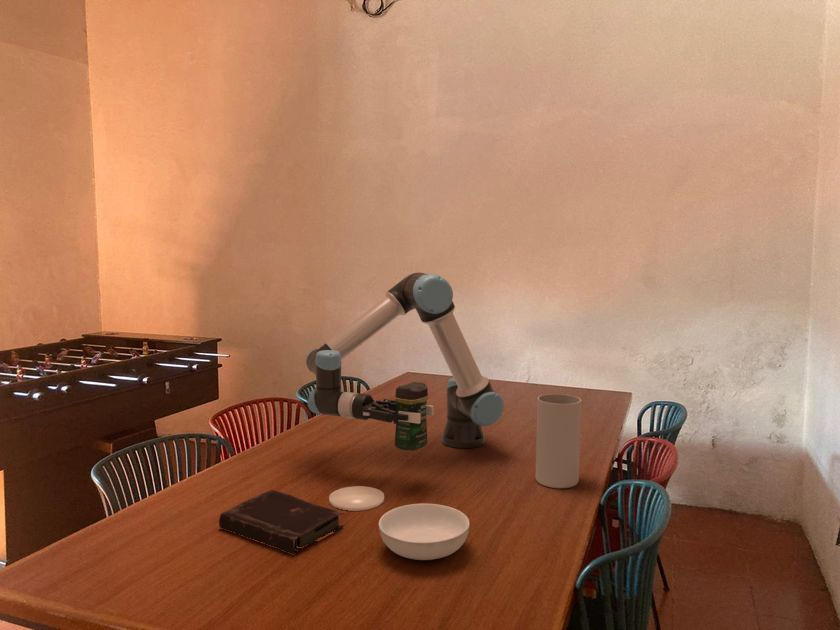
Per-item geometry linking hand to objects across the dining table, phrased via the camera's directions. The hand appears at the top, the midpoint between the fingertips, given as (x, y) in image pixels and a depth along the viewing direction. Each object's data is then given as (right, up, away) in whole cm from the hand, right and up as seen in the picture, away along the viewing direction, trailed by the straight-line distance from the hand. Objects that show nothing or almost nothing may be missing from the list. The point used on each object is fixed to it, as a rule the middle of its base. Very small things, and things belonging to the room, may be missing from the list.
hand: (426, 414), depth 188 cm
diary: (-36, -25, -23) cm, 50 cm away
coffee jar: (-4, -10, +3) cm, 11 cm away
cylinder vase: (+39, -21, +9) cm, 45 cm away
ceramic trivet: (-19, -23, -6) cm, 30 cm away
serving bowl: (-1, -26, -34) cm, 43 cm away
